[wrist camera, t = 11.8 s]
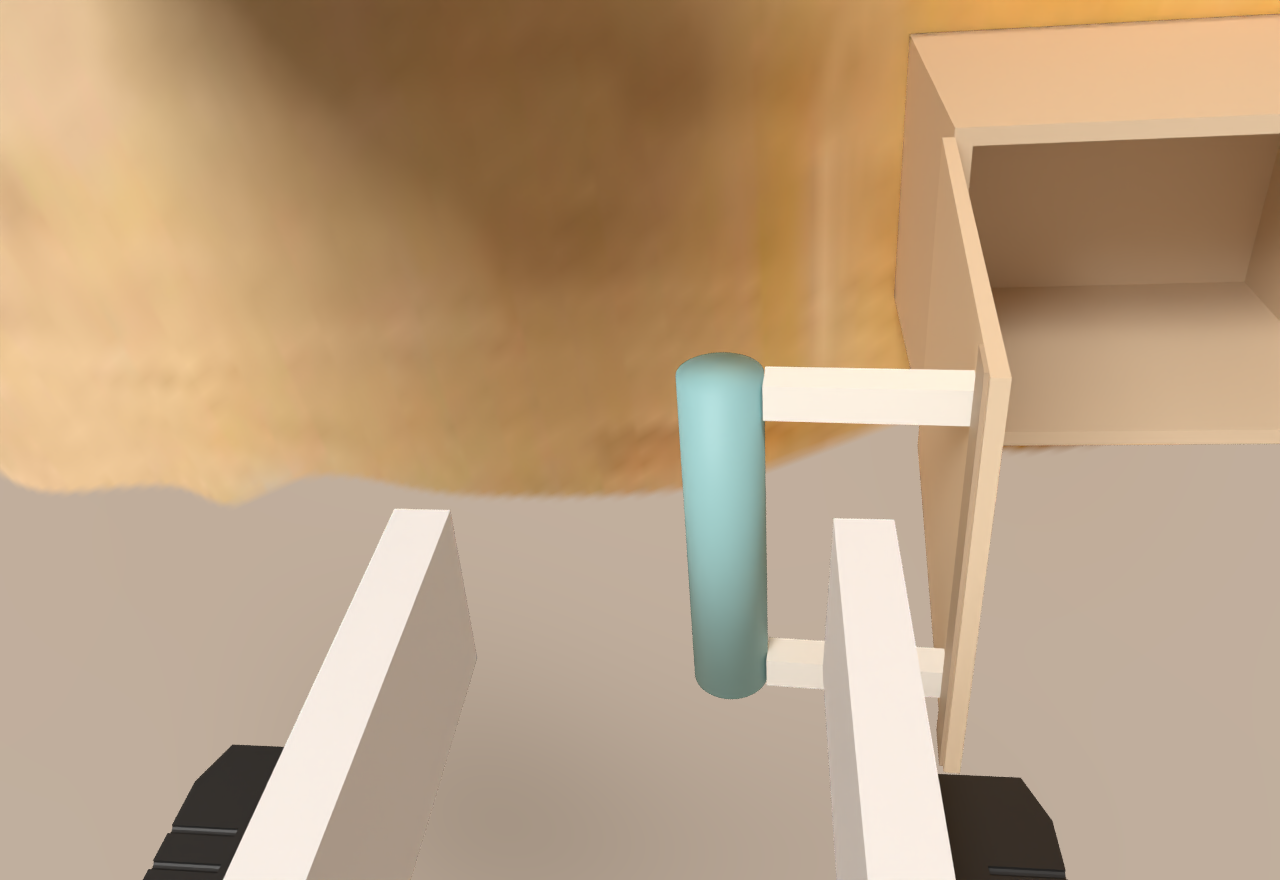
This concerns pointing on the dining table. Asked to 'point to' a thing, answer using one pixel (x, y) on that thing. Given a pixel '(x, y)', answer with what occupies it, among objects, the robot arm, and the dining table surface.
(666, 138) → the dining table surface
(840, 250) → the dining table surface
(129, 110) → the dining table surface
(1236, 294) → the carton
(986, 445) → the flap
